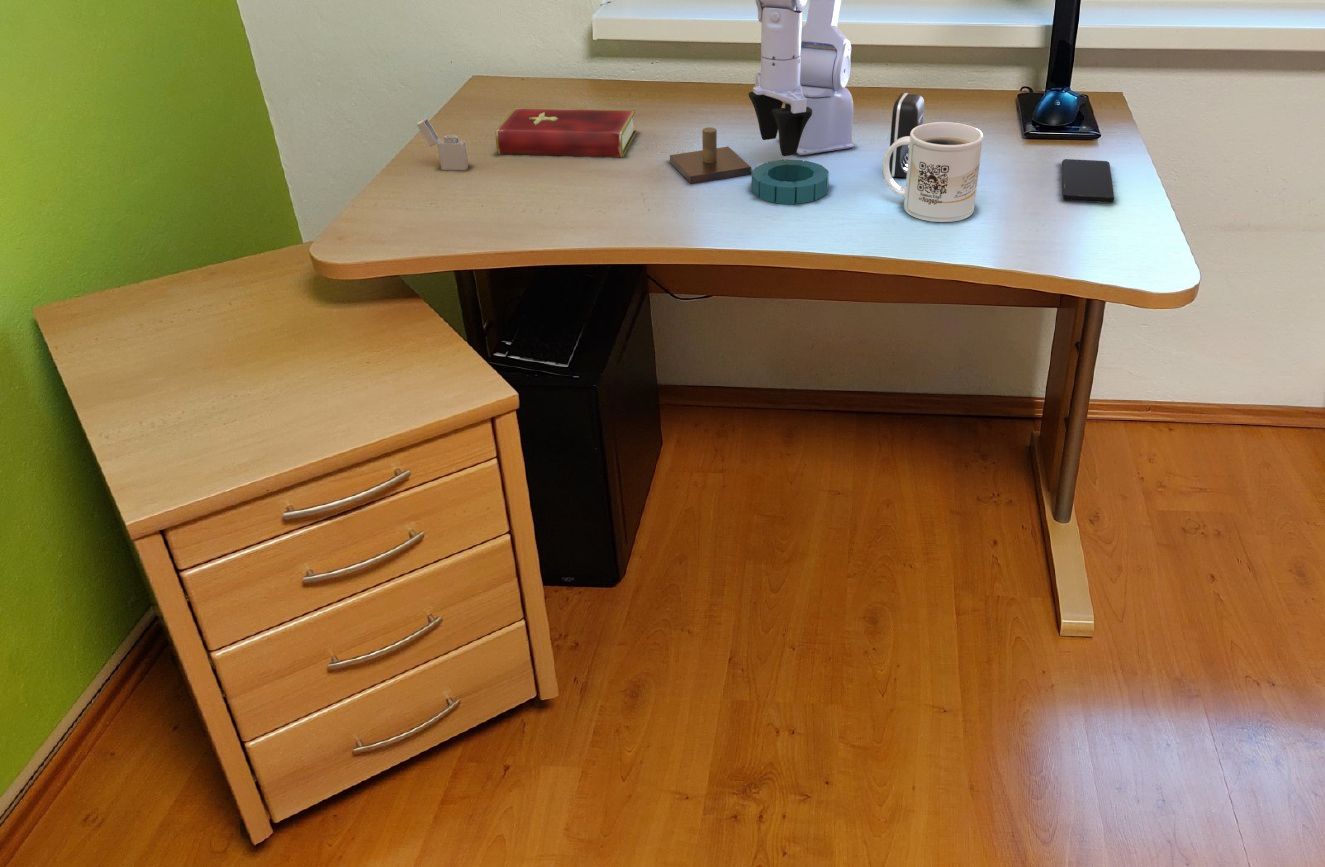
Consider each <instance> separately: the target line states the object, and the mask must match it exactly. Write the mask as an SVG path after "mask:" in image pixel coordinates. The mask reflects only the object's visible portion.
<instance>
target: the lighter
mask: <svg viewBox="0 0 1325 867" xmlns="http://www.w3.org/2000/svg"><path fill="white" fill-rule="evenodd" d="M416 127H417V128H418V129H419V131H420V133H421V134H422V136H423V138H424V139H425V141H426V142H427V144H428V146H429V147H433V146H435V145H437V149H438V150H437V151H438V156H439V163H440V170H442V171H467V169H468V168H469V160H468V159H469V158H468V152H467V146H466V144H467V143H466V140H464V139H463V140H462V139H461V140H460V137H458V136H457V135H456V134H445V135H444V136H443V139H441V138H440V137H439V135H438V134H437V131H436V130H435V129H434V127H433V125H432V123H431V122H430V121H429V119H428V117H423V118H421V119H420V120H418V121H417V123H416Z"/></svg>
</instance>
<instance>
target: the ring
mask: <svg viewBox="0 0 1325 867" xmlns="http://www.w3.org/2000/svg"><path fill="white" fill-rule="evenodd" d="M829 176H830V172H829V170H828V169H827V168H826V167H825V166H824V165H822V164H820V163H816V162H813V161H810V160H804V159H779V160H778V159H776V160H771V161H767V162H763V163H761V164H759V165H758V166H755V167H754V168H753V170H752V172H751V193H752V194H753V195H755V196H756V198H758V199H759V200H763V201H766V202H769V203H773V204H775V203H776V204H781V205H785V204H786V205H795V204H796V205H801V204H805V203H812V202H816V201H818V200H819V199H821V198H823V197H825V196H826V195H827V193H828V190H829Z"/></svg>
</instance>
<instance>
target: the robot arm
mask: <svg viewBox="0 0 1325 867" xmlns="http://www.w3.org/2000/svg"><path fill="white" fill-rule="evenodd" d="M808 1H809V3H808ZM755 4H756V7H757V19H758V22H759V23H761V24H760V25H761V28H760V30H761V33H760V34H761V35H760V40H761V41H760V72H755V74H754V75H755V76H754V86H753V87H752V90H751V91H750V92H748V98H749V100H750V101H751V104H752V106H753V108H754V111H755V115H756V118H757V123H758V129H759V132H760V138H761V140H763V141H769V140H775V139H777V136H778V142H779V149H780V155H781V156H782V157H790V156H795V155H796V154H798V155H799V156H807V155H813V154H820V153H825V152H831V151H833V152H834V151H839V150H845V149H851V148H854V143H852V141H853V123H854V101H853V100H854V99H853V96H852V94H851V92H850V90H849V89H848V88H847V85H848V82H849V78H850V74H851V67H852V66H851V56H852V44H851V41H850V40H849V38H848V37H847V36H846V35H845V34H844V33H843V32H842V31H841V30H840V29H839V27H838V22H839V16H840V9H841V4H842V0H755ZM807 4H808V10H807V15H806V22H805V24H804V25H803V11H804V10H805V8H806V6H807ZM831 48H832V49H831ZM783 104H784V107H783Z"/></svg>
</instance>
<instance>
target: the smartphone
mask: <svg viewBox="0 0 1325 867" xmlns="http://www.w3.org/2000/svg"><path fill="white" fill-rule="evenodd" d="M1112 178H1113V177H1112V170H1111V165H1110V162H1109V161H1107V160H1094V159H1093V160H1092V159H1073V158H1065V159H1062V161H1061V179H1062V180H1061V182H1062V198H1063V200H1065V201H1075V202H1093V203H1113V202H1114V201H1115V195H1114V186H1113V179H1112Z"/></svg>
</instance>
